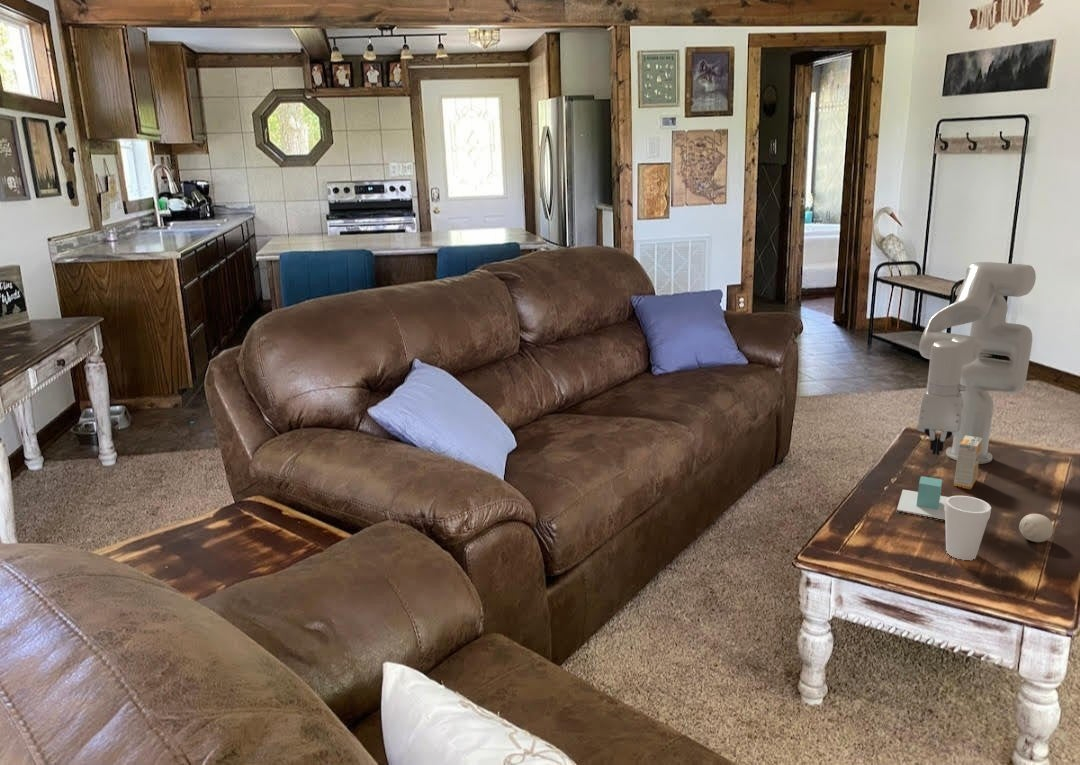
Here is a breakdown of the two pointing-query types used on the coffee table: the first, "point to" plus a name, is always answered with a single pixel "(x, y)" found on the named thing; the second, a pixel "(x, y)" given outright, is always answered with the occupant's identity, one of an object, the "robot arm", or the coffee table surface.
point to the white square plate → (909, 506)
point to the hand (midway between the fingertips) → (936, 452)
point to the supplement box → (967, 461)
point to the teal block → (929, 492)
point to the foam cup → (965, 525)
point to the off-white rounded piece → (1036, 528)
